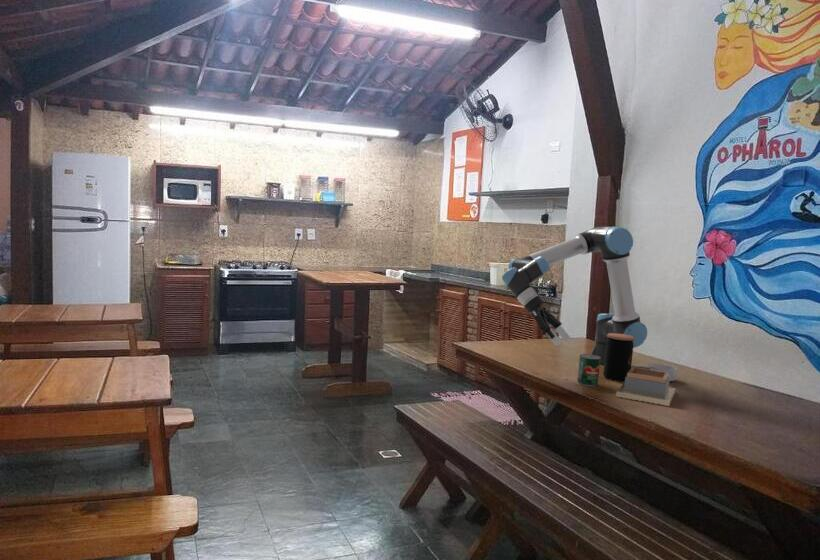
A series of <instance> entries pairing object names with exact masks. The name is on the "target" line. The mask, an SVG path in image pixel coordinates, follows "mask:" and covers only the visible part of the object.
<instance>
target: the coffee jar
mask: <svg viewBox="0 0 820 560" xmlns="http://www.w3.org/2000/svg"><path fill="white" fill-rule="evenodd" d="M607 337H608V339H607V342H606V352H605V361H604V364H603V372H602V374H603V377H604V378H605V379H607V380H609V379H611V380H610V381H614V380H616V381H615V382H625V377H626V376H627V373H628V372H629V371H630V369H631V368H632V362H633V354H634V352H633V351H634V348H633V345H634V344H633V340H634V337H633V336H630V335H625V334H616V333H609V334H607Z"/></svg>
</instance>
